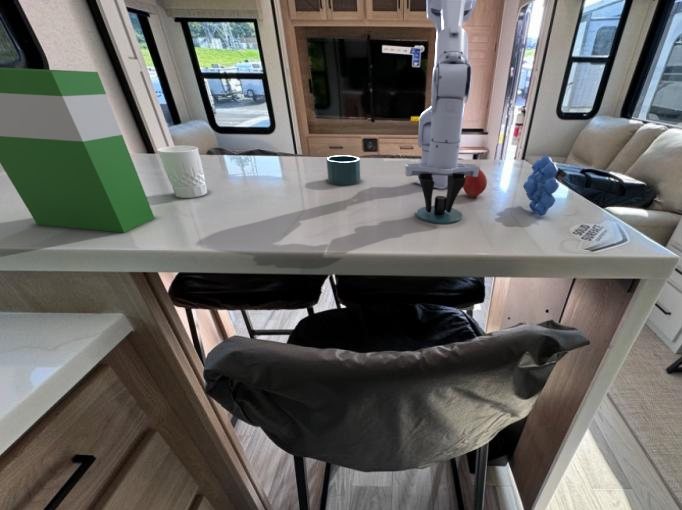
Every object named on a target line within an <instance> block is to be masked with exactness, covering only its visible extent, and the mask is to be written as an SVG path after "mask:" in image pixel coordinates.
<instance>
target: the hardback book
mask: <svg viewBox="0 0 682 510" xmlns="http://www.w3.org/2000/svg"><path fill="white" fill-rule="evenodd" d="M0 165H1V167H2V168H3V170H4V172H5V173H6V175H7V177H8V179H9V180H10V182H11V185H12V186H13V187H14V189H15V190H16V192H17V194H18V195H19V197H20V199H21V200H22V202H23V204H24V205H25V207H26V208H27V210H28V213H30V215H31V217H32V218H33V220H34V221H35V223H36V225H38V226H39V225H40V226H49V227H61V228H71V229H81V230H94V231H104V232H112V233H113V232H115V233H126V232H129V231H131V230H133V229H135V228H137V227H139V226H141V225H144V224H145V223H148V222H150V221H152V220H154V219H155V215H154V212H153V210H152V208H151V207H152V206H151V205H150V202H149V200H148V198H147V194H146V192H145V189H144V187H143V184H142V182H141V180H140V179H141V178H140V177H139V175H138V172H137V169H136V167H135V165H134V161H133V159H132V156H131V154H130V152H129V149H128V146H127V143H126V141H125V139H124V136H123V133H122V131H121V128H120V125H119V123H118V121H117V118H116V115H115V113H114V110H113V108H112V105H111V103H110V100H109V98H108V95H107V92H106V90H105V88H104V84H103V82H102V79H101V77H100V74H99V72H98V71H88V70H86V71H85V70H64V69H63V70H61V69H41V68H40V69H38V68H20V67H19V68H18V67H17V68H16V67H0Z"/></svg>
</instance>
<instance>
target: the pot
mask: <svg viewBox="0 0 682 510" xmlns="http://www.w3.org/2000/svg"><path fill="white" fill-rule="evenodd" d="M326 167H327V168H326V170H327V180H328V184H332V185H334V186H353V185H358V184H360V183H361V159H360V158H359V157H357V156H354V155H331V156H329V157H327V158H326Z"/></svg>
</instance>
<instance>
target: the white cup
mask: <svg viewBox="0 0 682 510" xmlns="http://www.w3.org/2000/svg"><path fill="white" fill-rule="evenodd" d="M156 151H157V154H158V156H159V159H160V162H161V164H162V167H163V170H164V172H165V174H166V176H167V179H168V182H169V183H170V185H171V188H172V190H173V193H174V195H175V196H176V198H180V199H193V198H199V197H203V196H205V195H207V194H208V188H207V184H206V178H205V172H204V169H203V163H202V160H201V155H200V151H199V147H198V146H194V145H169V146H164V147H163V146H162V147H159V148H157V149H156Z"/></svg>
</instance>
